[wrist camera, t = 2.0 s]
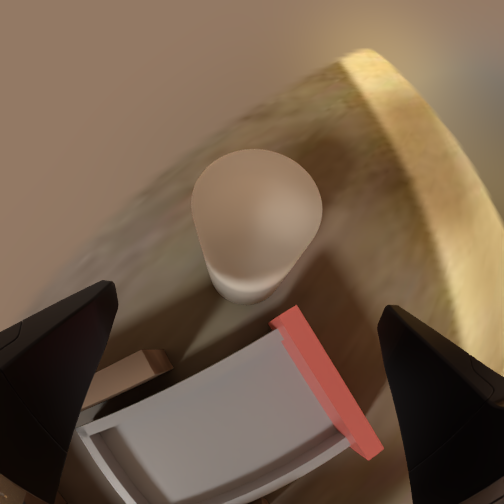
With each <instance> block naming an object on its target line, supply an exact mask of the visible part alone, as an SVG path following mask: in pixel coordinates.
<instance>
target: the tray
mask: <svg viewBox="0 0 504 504" xmlns="http://www.w3.org/2000/svg"><path fill="white" fill-rule="evenodd" d="M268 324H269V326H270V328H271V329H272V331H271V332H269V333H267V334H266V335H264V336H262V337H261V338H259V339H257V340H255V341H254V342H252V343H250V344H249V345H247V346H245V347H243V348H242V349H240V350H238V351H236V352H234V353H233V354H231V355H229V356H227V357H225V358H224V359H222V360H220V361H218V362H216V363H214V364H213V365H211V366H209V367H207V368H205V369H203V370H201V371H199V372H197V373H196V374H194V375H192V376H190V377H188V378H186V379H184V380H182V381H180V382H178V383H176V384H174V385H172V386H170V387H168V388H166V389H164V390H162V391H159V392H157V393H155V394H153V395H151V396H149V397H147V398H145V399H142V400H140V401H138V402H136V403H134V404H131V405H129V406H127V407H125V408H122V409H120V410H118V411H115V412H113V413H111V414H108V415H106V416H104V417H101V418H99V419H96V420H94V421H91V422H89V423H87V424H85V425H82V426H80V427H78V428H75V429H76V431H77V433H78V434H79V436H80V438H81V439H82V441H83V443H84V444H85V446H86V448H87V449H88V451H89V453H90V454H91V456H92V457H93V459H94V460H95V462H96V463H97V465H98V466H99V468H100V469H101V471H102V472H103V474H104V475H105V476H106V478H107V479H108V481H109V482H110V483H111V485H112V486H113V487H114V489H115V490H116V491H117V492H118V494H119V495H120V496H121V498H122V499H123V500H124V501H125V502H126V504H247V503H250V502H252V501H254V500H256V499H259V498H261V497H263V496H265V495H267V494H269V493H271V492H273V491H275V490H277V489H279V488H281V487H283V486H285V485H287V484H289V483H291V482H293V481H295V480H296V479H298V478H300V477H302V476H303V475H305V474H307V473H309V472H310V471H312V470H314V469H315V468H317V467H319V466H320V465H322V464H323V463H325V462H327V461H328V460H330V459H331V458H333V457H334V456H336V455H337V454H339V453H340V452H342V451H343V450H345V449H346V448H347V447H350V448H352V449H353V450H354V451H356V452H357V453H358V454H360V455H361V456H363V457H364V458H365V459H367V460H368V461H369V460H370V459H372V458H373V457H374V456H376V455H377V454H378V453H380V452H381V451H382V450H383V449H384V447H383V446H382V444H381V442H380V441H379V439H378V437H377V436H376V434H375V432H374V431H373V429H372V427H371V426H370V424H369V422H368V421H367V419H366V417H365V416H364V414H363V412H362V411H361V409H360V407H359V406H358V404H357V402H356V401H355V399H354V397H353V396H352V394H351V393H350V391H349V389H348V388H347V386H346V384H345V383H344V381H343V379H342V378H341V376H340V374H339V373H338V371H337V370H336V368H335V366H334V365H333V363H332V361H331V360H330V358H329V356H328V355H327V353H326V352H325V350H324V348H323V347H322V345H321V343H320V342H319V340H318V339H317V337H316V335H315V334H314V332H313V330H312V329H311V327H310V326H309V324H308V322H307V321H306V319H305V317H304V316H303V314H302V313H301V311H300V309H299V308H298V306H297V305H295V306H294V307H292V308H291V309H289V310H287V311H286V312H284V313H282V314H281V315H279V316H278V317H276V318H275V319H273V320H272V321H270V322H269V323H268Z"/></svg>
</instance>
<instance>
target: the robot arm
mask: <svg viewBox="0 0 504 504" xmlns="http://www.w3.org/2000/svg"><path fill="white" fill-rule="evenodd" d="M117 310H118V299H117V293H116V288H115V284H114V283H113V282H112V281H106V280H102V281H99V282H97V283H95V284H93V285H91V286H89V287H87V288H85V289H83V290H81V291H79V292H77V293H75V294H73V295H71V296H69V297H67V298H65V299H63V300H61V301H59V302H57V303H55V304H53V305H51V306H49V307H47V308H45V309H43V310H41V311H40V312H38V313H36V314H34V315H32V316H30V317H28V318H26V319H24V320H23V321H20V322H19V323H17V324H15V325H13V326H11V327H9V328H7V329H5V330H3V331H1V332H0V504H26V503H25V501H24V499H25V495H26V492H28V493H30V494H32V495H33V496H35V497H37V498H39V499H40V500H42V501H44V502H46V503H48V504H54V503H55V499H56V495H57V490H58V486H59V482H60V478H61V474H62V470H63V467H64V463H65V459H66V456H67V453H66V452H68V448H69V445H70V442H71V439H72V435H73V432H74V429H75V426H76V423H77V420H78V417H79V414H80V411H81V409H82V406H83V403H84V400H85V397H86V395H87V392H88V389H89V387H90V384H91V382H92V379H93V377H94V374H95V371H96V369H97V367H98V364H99V362H100V359H101V357H102V354H103V352H104V350H105V347H106V344H107V341H108V338H109V335H110V331H111V328H112V325H113V322H114V319H115V316H116V313H117ZM377 330H378V336H379V341H380V346H381V351H382V357H383V362H384V367H385V371H386V375H387V378H388V382H389V386H390V389H391V393H392V397H393V401H394V405H395V409H396V413H397V417H398V422H399V426H400V431H401V435H402V440H403V445H404V450H405V455H406V461H407V466H408V471H409V479H410V485H411V492H412V500H413V504H504V377H503V376H501V375H499V374H498V373H496V372H495V371H493V370H492V369H490V368H488V367H487V366H486V365H484V364H483V363H481V362H480V361H478V360H477V359H475V358H474V357H473V356H471V355H469V354H468V353H467V352H466V351H464V350H463V349H461V348H460V347H458V346H457V345H456V344H454V343H453V342H451V341H450V340H448V339H447V338H445V337H444V336H443V335H441V334H440V333H438V332H437V331H435V330H434V329H432V328H431V327H429V326H428V325H426V324H425V323H423V322H422V321H421V320H419V319H418V318H416V317H415V316H413V315H412V314H410V313H409V312H407V311H406V310H404V309H403V308H401V307H400V306H398V305H387V306H386V307H385V308H384V311H383V313H382V316H381V318H380V320H379V323H378V327H377Z"/></svg>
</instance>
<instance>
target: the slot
mask: <svg viewBox="0 0 504 504" xmlns="http://www.w3.org/2000/svg"><path fill="white" fill-rule="evenodd" d="M171 369H173V366H172V364H171V362H170V361H169V359H168V357H167V355H166V353H165V351H164V350H163V349H141V350H139V351H137V352H136V353H134V354H132V355H130V356H128V357H126V358H124V359H122V360H120V361H118V362H116V363H114V364H112V365H110V366H108V367H106V368H104V369H102V370H100V371H98V372H96V373H95V374H94V377H93V379H92V382H91V384H90V387H89V389H88V392H87V395H86V397H85V400H84V403H83V406H82V409H81V411H84V410H86V409H88V408H91V407H93V406H95V405H97V404H100V403H102V402H104V401H107V400H109V399H111V398H113V397H115V396H118V395H120V394H122V393H124V392H126V391H128V390H131V389H133V388H135V387H137V386H139V385H141V384H143V383H145V382H147V381H149V380H151V379H153V378H155V377H157V376H159V375H162V374H164V373H166V372H167V371H169V370H171ZM81 411H80V412H81ZM24 501H25V503H26V504H48V503H46V502H44V501H42V500H40V499H39V498H37V497H35V496H33V495H32V494H30V493H28V492H26V495H25V499H24ZM54 504H67V503H66V501H65V500H64V499H63V497H62V496H61V495H60V493H59V492H58V490H57V495H56V499H55V503H54ZM247 504H269V503H268V501H267V500H266V499H265V498H264V497H261V498H259V499H256V500H254V501H252V502H250V503H247Z"/></svg>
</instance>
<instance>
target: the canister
mask: <svg viewBox="0 0 504 504" xmlns="http://www.w3.org/2000/svg"><path fill="white" fill-rule="evenodd" d="M191 210H192V216H193V220H194V224H195V227H196V231H197V234H198V238H199V241H200V245H201V248H202V251H203V255H204V258H205V261H206V265H207V268H208V271H209V275H210V278H211V281H212V283H213V286H214V287H215V289H216V290H217V292H218V293H219V294H220V295H221V296H222V297H224V298H225V299H227V300H228V301H230V302H233V303H236V304H240V305H252V304H257V303H260V302H262V301H264V300H266V299H267V298H269V297H270V296H271V295H272V294H273V293H274V292H275V290H276V289H277V288H278V286H279V285H280V284H281V282H282V281H283V280H284V278H285V277H286V276H287V274H288V273H289V272H290V270H291V269H292V267H293V266H294V265H295V263H296V262H297V261H298V259H299V258H300V256H301V255H302V254H303V252H304V251H305V250H306V248H307V247H308V245H309V244H310V243H311V241H312V240H313V238H314V237H315V235H316V233H317V231H318V229H319V226H320V223H321V219H322V201H321V196H320V193H319V190H318V188H317V186H316V184H315V182H314V180H313V179H312V177H311V176H310V175H309V174H308V172H307V171H306V170H305V169H304V168H303V167H301V166H300V165H299V164H298V163H296V162H295V161H294V160H292V159H290V158H288V157H286V156H284V155H282V154H279V153H276V152H273V151H268V150H262V149H246V150H239V151H235V152H232V153H229V154H226V155H224V156H222V157H220V158H219V159H217V160H215V161H214V162H213V163H211V164H210V165H209V166H208V167H207V168H206V169H205V170H204V171H203V172H202V174H201V175H200V177H199V178H198V180H197V182H196V184H195V186H194V189H193V192H192V198H191Z"/></svg>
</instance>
